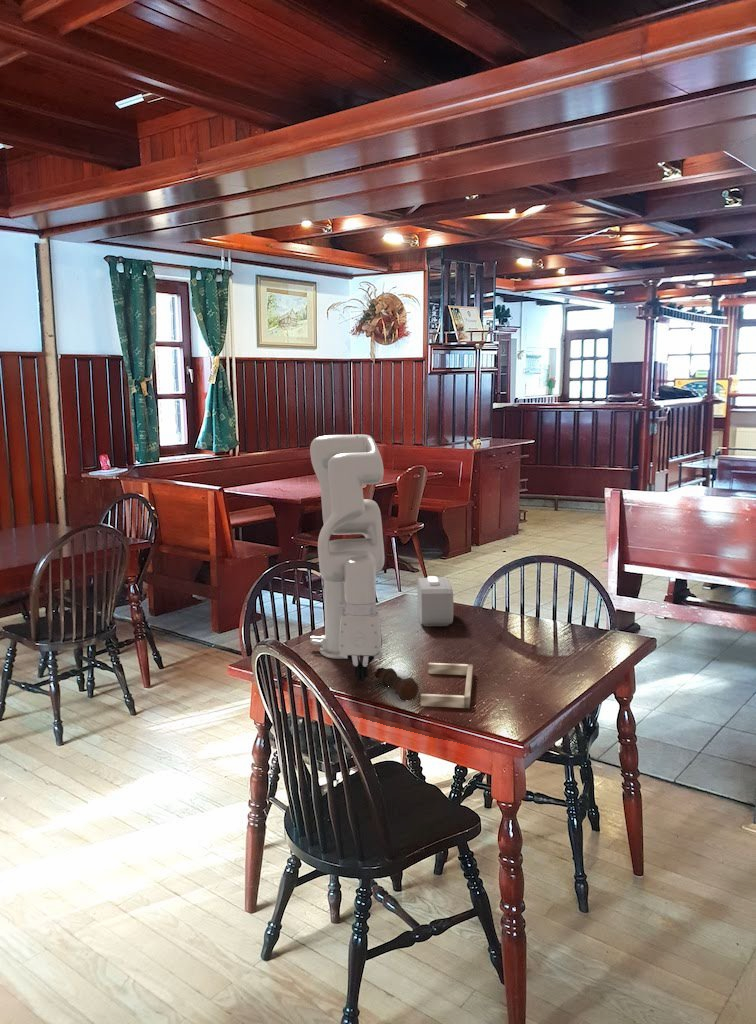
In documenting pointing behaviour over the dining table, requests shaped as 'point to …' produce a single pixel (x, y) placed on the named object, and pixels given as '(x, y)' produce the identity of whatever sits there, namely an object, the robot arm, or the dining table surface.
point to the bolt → (397, 683)
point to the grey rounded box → (435, 601)
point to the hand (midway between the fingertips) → (361, 680)
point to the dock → (449, 700)
